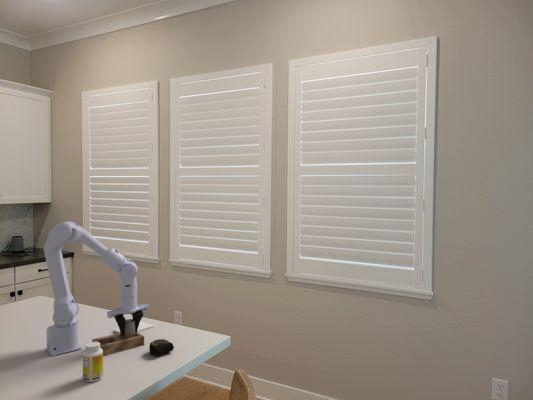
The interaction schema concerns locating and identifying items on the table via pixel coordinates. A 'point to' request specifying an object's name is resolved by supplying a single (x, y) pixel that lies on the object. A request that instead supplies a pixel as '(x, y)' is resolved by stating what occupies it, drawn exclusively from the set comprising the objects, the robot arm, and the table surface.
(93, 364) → the supplement bottle
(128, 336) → the plug
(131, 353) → the table surface
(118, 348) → the box
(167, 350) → the tape measure
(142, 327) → the external hard drive
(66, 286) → the robot arm
